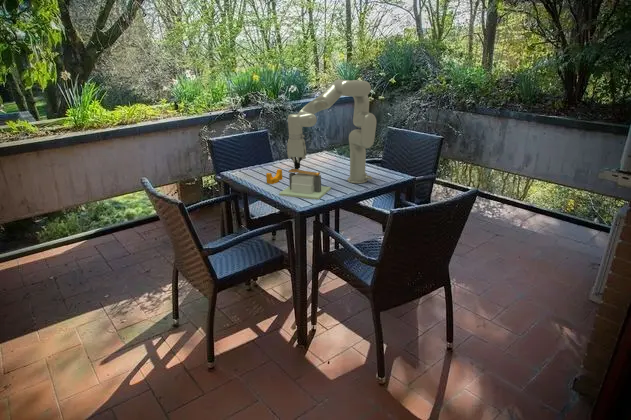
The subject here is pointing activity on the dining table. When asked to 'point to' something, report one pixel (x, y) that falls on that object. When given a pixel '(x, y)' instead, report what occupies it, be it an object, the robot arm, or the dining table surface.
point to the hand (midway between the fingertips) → (297, 168)
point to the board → (309, 196)
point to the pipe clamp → (274, 179)
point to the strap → (304, 172)
